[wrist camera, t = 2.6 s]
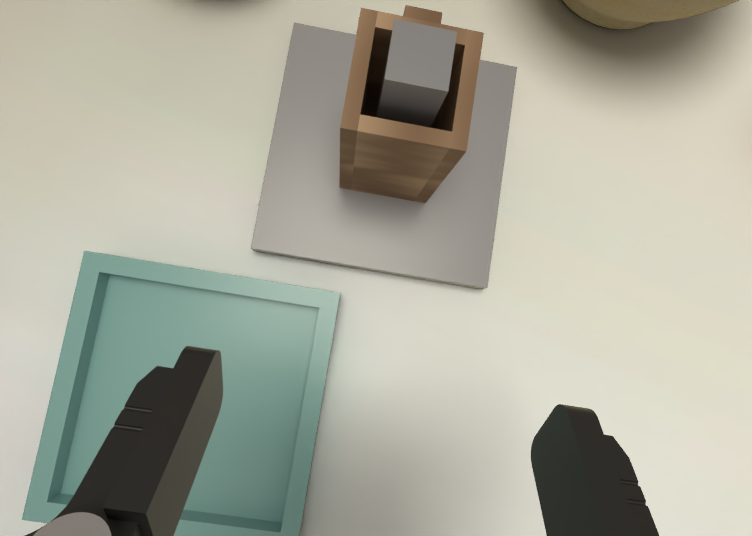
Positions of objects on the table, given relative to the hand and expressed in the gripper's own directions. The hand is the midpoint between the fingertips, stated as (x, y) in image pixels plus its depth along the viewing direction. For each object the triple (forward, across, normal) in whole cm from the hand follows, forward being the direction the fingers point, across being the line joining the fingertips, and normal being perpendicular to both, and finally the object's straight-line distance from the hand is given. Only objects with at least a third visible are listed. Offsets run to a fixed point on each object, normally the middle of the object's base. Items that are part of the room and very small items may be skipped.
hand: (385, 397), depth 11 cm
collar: (+19, 0, +3) cm, 20 cm away
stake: (+20, 0, +4) cm, 21 cm away
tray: (+9, +9, +15) cm, 19 cm away
